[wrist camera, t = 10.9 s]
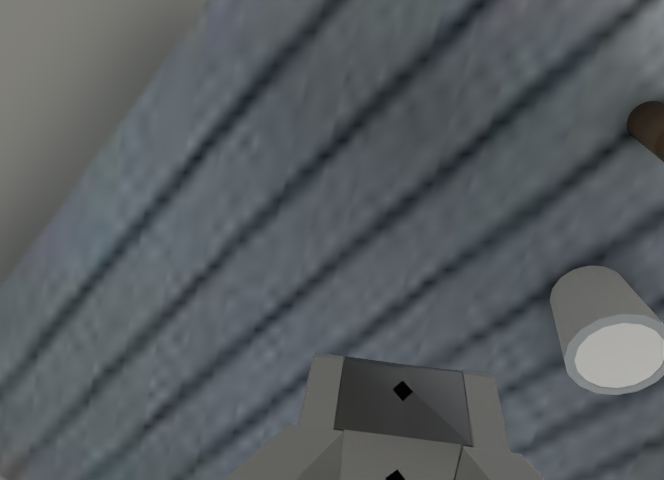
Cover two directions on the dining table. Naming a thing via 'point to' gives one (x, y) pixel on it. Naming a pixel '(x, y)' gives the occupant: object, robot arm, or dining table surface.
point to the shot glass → (606, 332)
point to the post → (648, 126)
